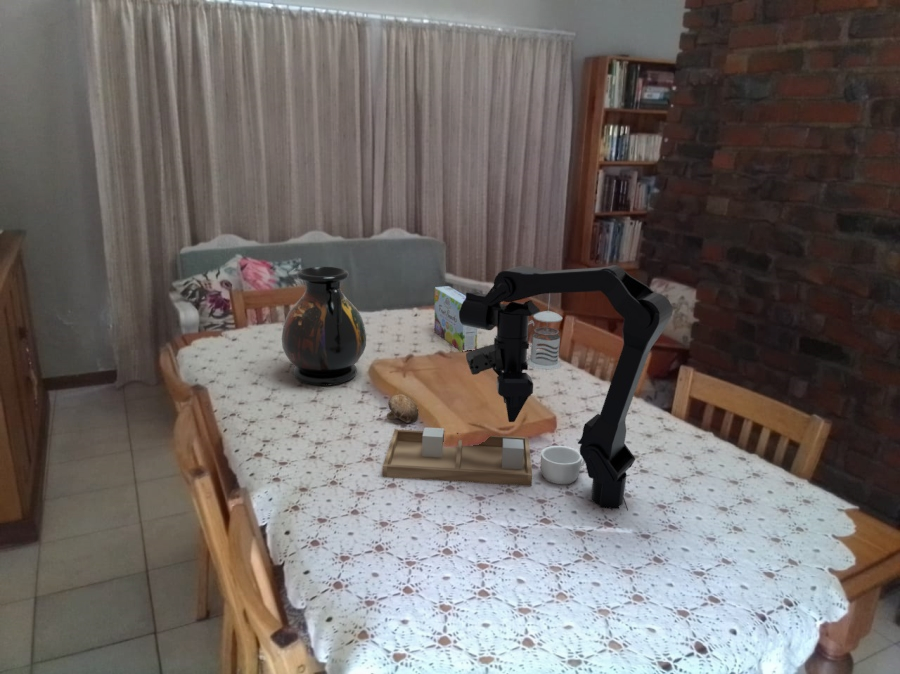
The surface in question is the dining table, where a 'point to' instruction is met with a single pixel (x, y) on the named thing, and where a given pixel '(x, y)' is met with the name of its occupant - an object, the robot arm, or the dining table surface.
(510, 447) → the light grey cube
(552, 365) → the french press
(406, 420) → the mushroom
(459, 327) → the snack box
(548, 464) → the teacup
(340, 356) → the amphora vase
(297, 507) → the dining table surface
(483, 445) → the divided tray
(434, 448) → the grey cube
